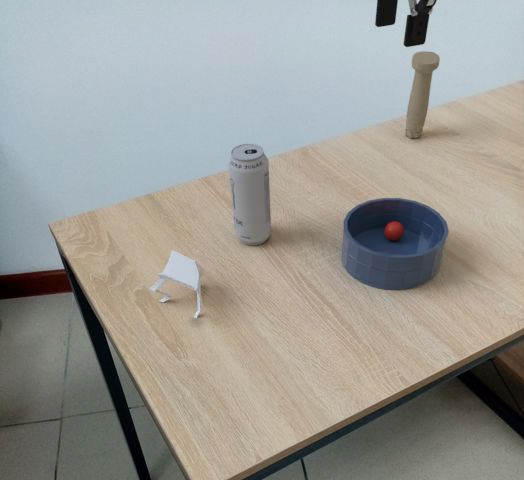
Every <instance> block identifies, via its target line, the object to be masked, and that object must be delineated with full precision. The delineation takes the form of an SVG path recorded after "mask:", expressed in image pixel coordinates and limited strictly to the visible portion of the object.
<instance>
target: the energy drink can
mask: <svg viewBox="0 0 524 480" xmlns="http://www.w3.org/2000/svg"><path fill="white" fill-rule="evenodd" d="M230 154H231V155H230V158H229V160H228V163H227V166H228V176H229V187H230V195H231V206H232V215H233V216H232V217H233V227H234V235H235V237H236V238H237V239H238V240H239V241H240V242H241V244H244V245H246V246H259V245H262V244H264V243H265V242H266V241H267V240H268V239H269V237H270V236H271V234H272V216H271V215H272V214H271V191H270V190H271V189H270V170H269V169H270V167H269V158H268V157H267V155H266V153H265V149H264V147H262V146H261V145H259V144H256V143H242V144H239V145H237V146H235V147H233V148H232V149H231V151H230Z"/></svg>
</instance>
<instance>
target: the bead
mask: <svg viewBox="0 0 524 480" xmlns="http://www.w3.org/2000/svg"><path fill="white" fill-rule="evenodd" d="M403 234H404V228H403V226H402V224H401V223H399V222H390V223H389V224H388V225H387V226H386V227H385V236H386V237H387V238H388V239H389V240H391V241H396V240H399V239H400V238H401V237H402V236H403Z"/></svg>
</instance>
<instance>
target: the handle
mask: <svg viewBox="0 0 524 480" xmlns="http://www.w3.org/2000/svg"><path fill="white" fill-rule="evenodd" d="M440 59H441V58H440V55H439V54H437V53H435V52H434V51H426V50H425V51H417V52H415V53H414V54H413V55H412V57H411V68H412V69H413V70H414V74H413V75H414V76H413V80H412V85H411V90H410V95H409V100H408V103H407V109H406V110H407V111H406V120H405V136H406V137H407V138H409V139H419V138H420V137H421V136H422V134H423V130H424V127H425V123H426V118H427V116H428V115H427V114H428V109H429V104H430V103H429V101H430V94H431V86H432V80H433V79H432V78H433V73H434V71H436V70H437V69H438V68H439V66H440Z"/></svg>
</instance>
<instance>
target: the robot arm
mask: <svg viewBox="0 0 524 480" xmlns="http://www.w3.org/2000/svg"><path fill="white" fill-rule="evenodd" d="M407 1H408V6H409V13H410V14H407V15H406V22H405V30H404V36H403V46H404V47H405V48H410V47H416V46H422V45H425V43H426V39H427V33H428V27H429V21H430V15H431V14H432V13H433V10H434V9H433V8H434V6H435V5H436V4H437V1H438V0H419V1H418V0H407ZM398 3H399V0H376V11H375V20H374V21H375V22H374V25H375V27H377V28H382V27H388V26H394V25H395V24H396V21H397V12H398V11H397V10H398Z"/></svg>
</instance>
